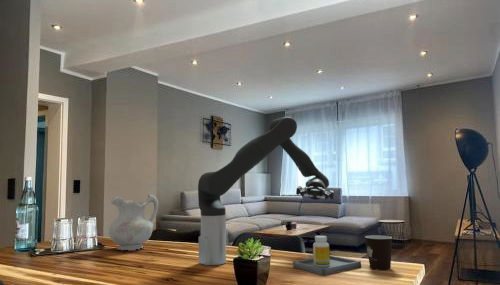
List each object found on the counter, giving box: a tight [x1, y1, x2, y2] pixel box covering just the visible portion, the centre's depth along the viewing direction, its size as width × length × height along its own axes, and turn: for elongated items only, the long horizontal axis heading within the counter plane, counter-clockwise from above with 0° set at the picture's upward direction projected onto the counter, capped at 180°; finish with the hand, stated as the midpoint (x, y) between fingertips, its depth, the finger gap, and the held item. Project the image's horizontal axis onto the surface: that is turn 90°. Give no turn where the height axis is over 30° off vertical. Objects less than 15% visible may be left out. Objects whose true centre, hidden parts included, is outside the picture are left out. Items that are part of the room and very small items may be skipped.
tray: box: [292, 254, 362, 276], centre depth 121 cm, size 18×14×2 cm
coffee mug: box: [364, 234, 393, 271], centre depth 121 cm, size 12×9×10 cm
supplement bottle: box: [312, 235, 331, 267], centre depth 121 cm, size 5×5×10 cm
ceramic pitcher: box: [108, 194, 159, 251], centre depth 168 cm, size 22×20×25 cm
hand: (314, 195), depth 133 cm, fingers open, 8 cm apart
